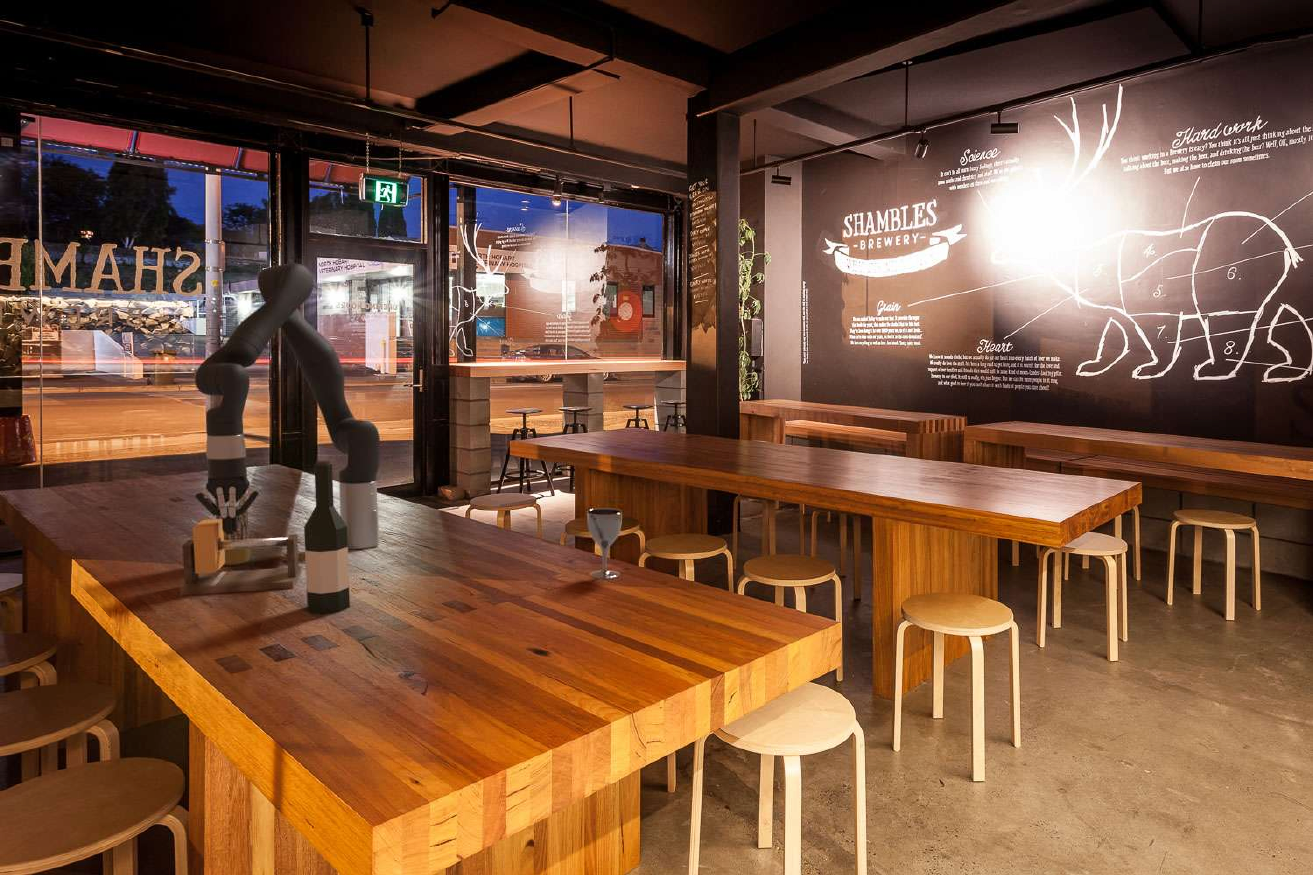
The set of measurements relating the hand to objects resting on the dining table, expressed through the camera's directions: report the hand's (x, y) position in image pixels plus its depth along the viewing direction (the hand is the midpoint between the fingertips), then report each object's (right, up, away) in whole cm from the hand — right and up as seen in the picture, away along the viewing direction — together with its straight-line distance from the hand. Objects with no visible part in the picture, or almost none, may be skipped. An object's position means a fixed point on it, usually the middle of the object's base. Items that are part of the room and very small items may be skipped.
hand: (230, 533), depth 180 cm
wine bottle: (+27, -14, -14) cm, 33 cm away
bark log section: (-9, -10, +19) cm, 23 cm away
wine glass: (+81, -11, +11) cm, 83 cm away
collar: (-4, -8, 0) cm, 9 cm away
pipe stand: (+2, -11, +2) cm, 12 cm away
